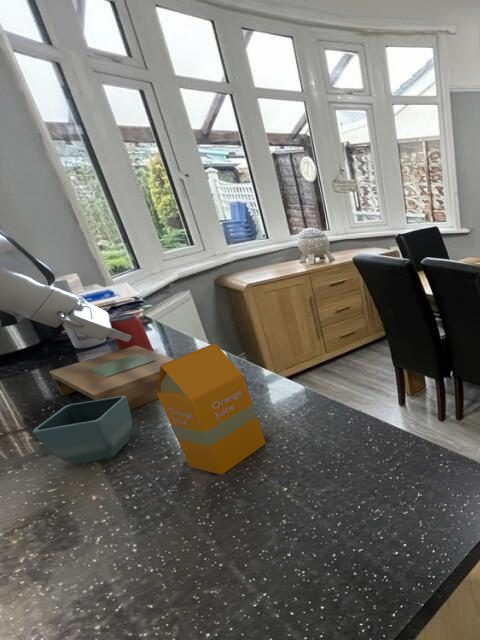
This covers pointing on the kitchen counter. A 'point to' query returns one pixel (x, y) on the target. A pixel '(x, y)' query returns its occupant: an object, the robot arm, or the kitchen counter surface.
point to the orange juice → (209, 409)
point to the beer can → (130, 331)
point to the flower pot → (87, 430)
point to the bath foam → (75, 337)
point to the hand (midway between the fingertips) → (128, 334)
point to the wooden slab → (114, 376)
